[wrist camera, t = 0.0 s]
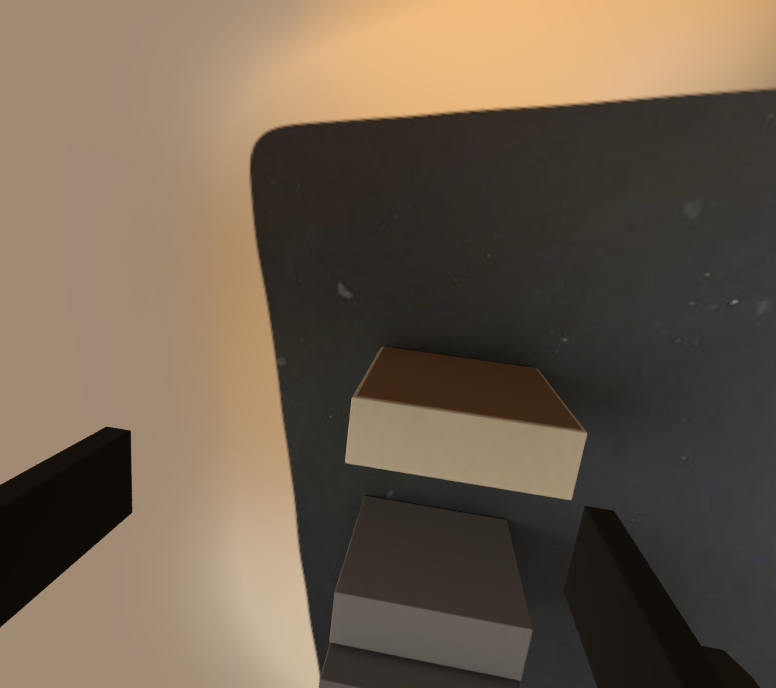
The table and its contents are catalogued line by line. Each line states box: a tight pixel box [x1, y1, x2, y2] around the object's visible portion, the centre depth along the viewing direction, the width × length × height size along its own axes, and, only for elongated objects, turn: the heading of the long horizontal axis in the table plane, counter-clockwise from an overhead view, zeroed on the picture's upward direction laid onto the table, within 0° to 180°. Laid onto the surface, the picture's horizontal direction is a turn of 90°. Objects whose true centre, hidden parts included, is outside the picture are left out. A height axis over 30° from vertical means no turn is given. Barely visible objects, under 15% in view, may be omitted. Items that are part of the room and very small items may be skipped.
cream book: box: [345, 346, 587, 500], centre depth 27 cm, size 4×11×11 cm, turn 83°
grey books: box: [319, 496, 533, 688], centre depth 29 cm, size 7×11×12 cm, turn 83°
